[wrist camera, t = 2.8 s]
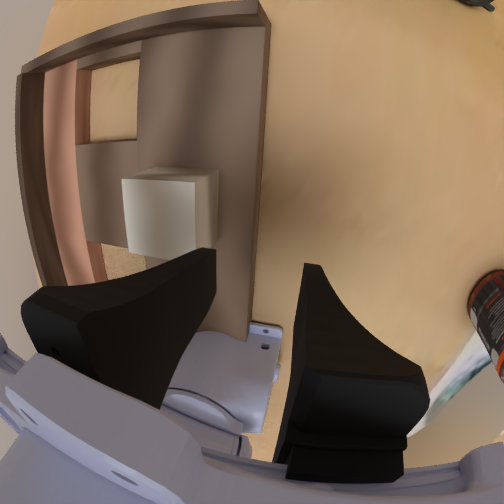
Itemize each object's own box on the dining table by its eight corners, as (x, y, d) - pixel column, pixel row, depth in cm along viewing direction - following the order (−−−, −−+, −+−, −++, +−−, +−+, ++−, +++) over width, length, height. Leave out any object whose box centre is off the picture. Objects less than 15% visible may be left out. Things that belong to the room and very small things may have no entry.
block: (218, 170, 18) (194, 182, 15) (217, 239, 21) (196, 264, 17) (154, 167, 19) (121, 178, 16) (157, 230, 21) (128, 252, 18)
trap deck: (271, 23, 15) (256, -4, 10) (249, 339, 27) (236, 378, 22) (54, 66, 19) (18, 66, 14) (78, 293, 31) (53, 316, 26)
